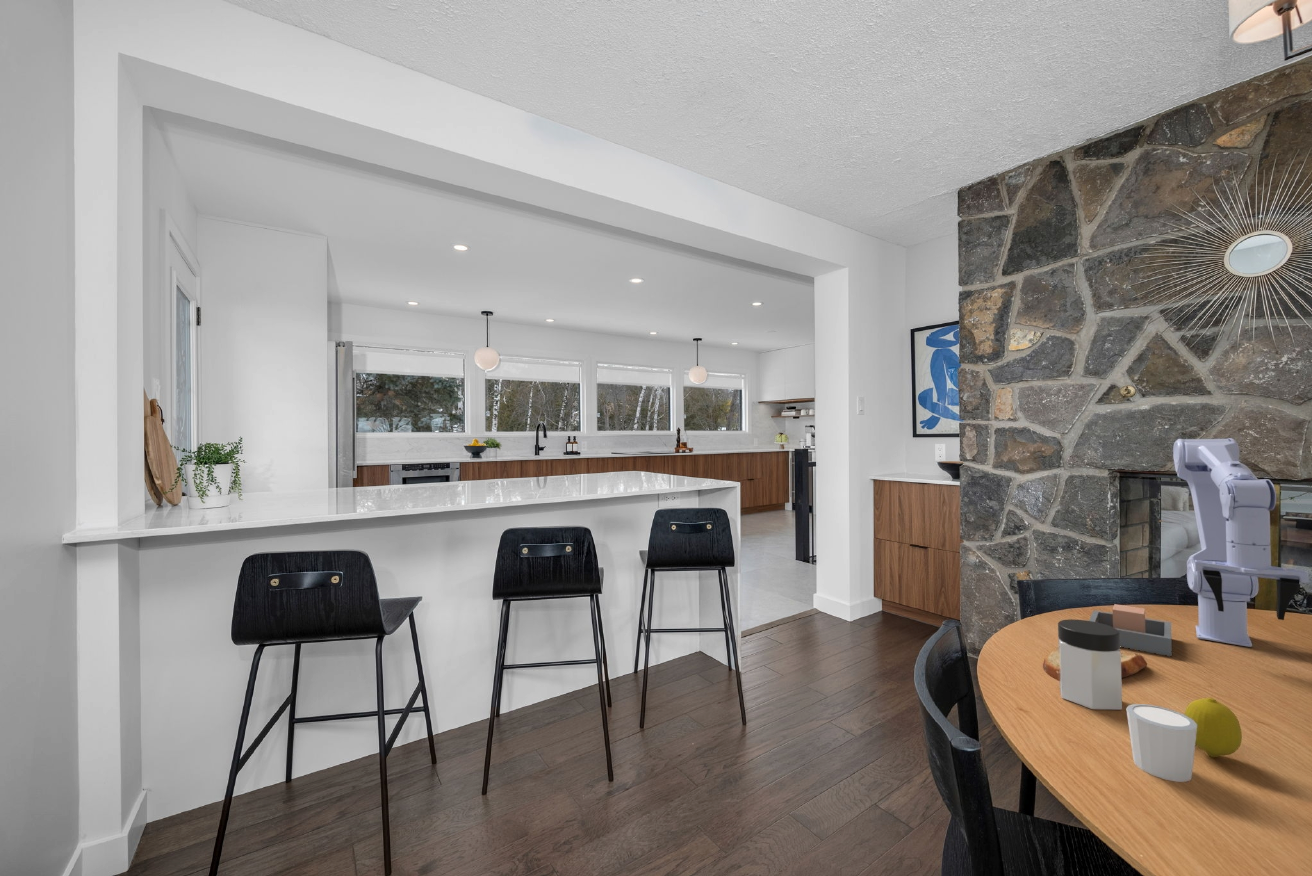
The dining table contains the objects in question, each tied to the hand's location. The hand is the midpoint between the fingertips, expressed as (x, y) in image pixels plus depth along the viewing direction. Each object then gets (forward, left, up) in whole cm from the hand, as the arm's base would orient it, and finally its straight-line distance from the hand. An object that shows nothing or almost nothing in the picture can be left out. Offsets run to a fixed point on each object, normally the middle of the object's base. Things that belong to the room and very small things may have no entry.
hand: (1249, 614), depth 103 cm
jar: (+37, -21, -10) cm, 44 cm away
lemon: (+47, -7, -10) cm, 48 cm away
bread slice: (+22, -22, -10) cm, 32 cm away
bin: (-2, -18, -9) cm, 20 cm away
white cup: (+55, -12, -10) cm, 57 cm away
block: (-1, -18, -9) cm, 20 cm away
